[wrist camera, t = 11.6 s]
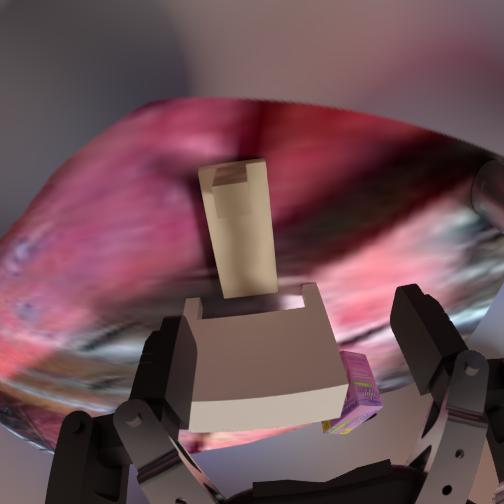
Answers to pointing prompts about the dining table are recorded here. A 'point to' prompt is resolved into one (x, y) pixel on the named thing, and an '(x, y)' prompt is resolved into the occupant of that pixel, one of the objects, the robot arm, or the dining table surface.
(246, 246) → the stepped wooden block
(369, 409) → the box
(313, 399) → the notched block
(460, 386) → the robot arm
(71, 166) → the dining table surface
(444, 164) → the dining table surface
